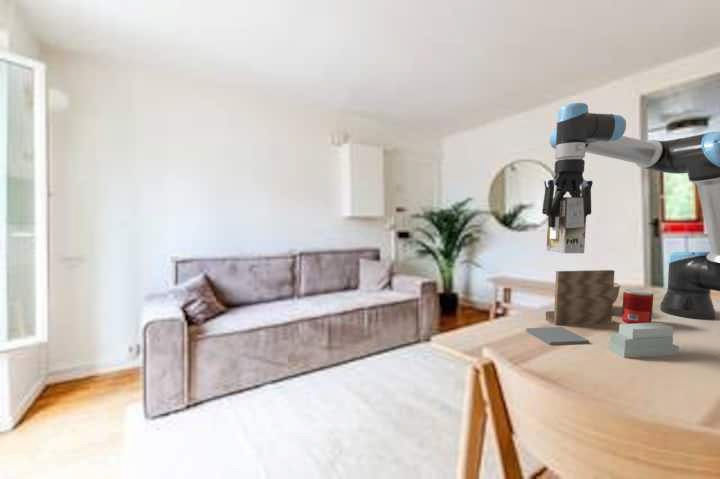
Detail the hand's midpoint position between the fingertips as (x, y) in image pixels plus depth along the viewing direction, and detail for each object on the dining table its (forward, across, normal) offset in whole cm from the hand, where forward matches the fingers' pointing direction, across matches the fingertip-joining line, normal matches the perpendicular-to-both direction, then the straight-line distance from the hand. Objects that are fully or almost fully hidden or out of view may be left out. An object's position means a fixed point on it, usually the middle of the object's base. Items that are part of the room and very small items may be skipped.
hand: (565, 238), depth 106 cm
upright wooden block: (+30, +16, +13) cm, 36 cm away
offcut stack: (+30, +14, -14) cm, 36 cm away
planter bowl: (+30, +32, +26) cm, 51 cm away
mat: (+30, -1, 0) cm, 30 cm away
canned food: (+30, +35, +10) cm, 47 cm away
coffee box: (+4, 0, 0) cm, 4 cm away
